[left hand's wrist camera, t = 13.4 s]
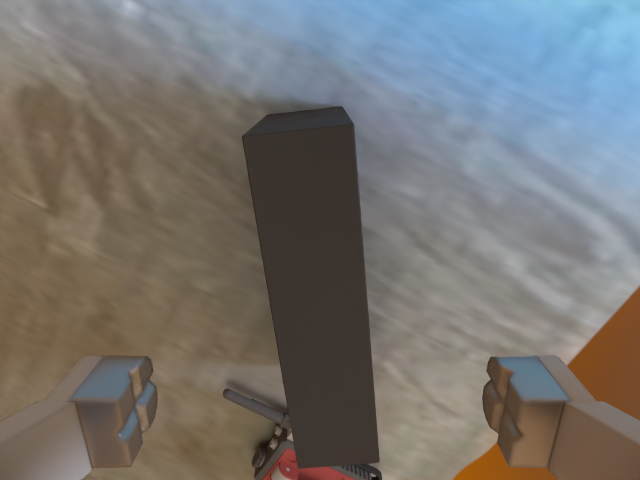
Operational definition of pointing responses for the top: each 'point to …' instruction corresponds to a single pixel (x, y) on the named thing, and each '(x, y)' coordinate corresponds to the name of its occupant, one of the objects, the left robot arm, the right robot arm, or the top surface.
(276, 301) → the box
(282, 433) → the walkie-talkie
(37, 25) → the top surface
